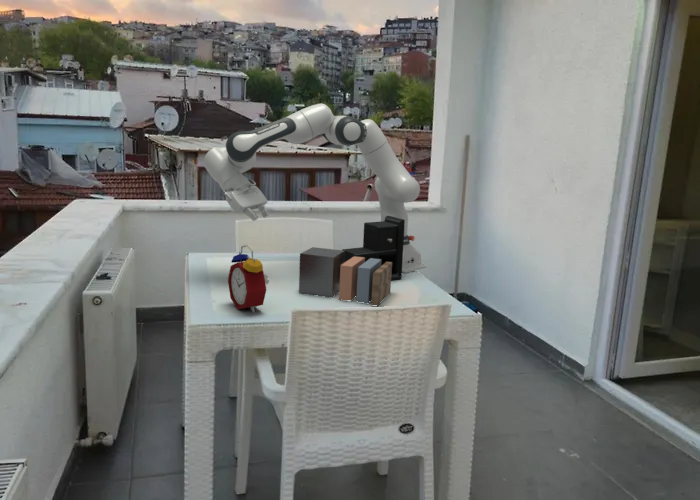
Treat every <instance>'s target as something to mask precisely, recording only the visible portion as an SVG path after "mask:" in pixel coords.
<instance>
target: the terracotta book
mask: <svg viewBox="0 0 700 500" xmlns="http://www.w3.org/2000/svg"><path fill="white" fill-rule="evenodd" d="M363 263H365V258H364V257H355V256H354V257H352V258H351V259H349V260H348V261H346V262H345V263H343V264H342V265H341V266H340V290H339V293H338V300H339V299H342V300H352V299H353V298H354V297H355V296H356V297H357V279H358V267H359V266H361V265H362V264H363ZM356 297H355V298H356ZM355 298H354V299H355ZM354 299H353V300H354ZM353 300H352V301H353Z"/></svg>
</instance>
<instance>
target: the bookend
mask: <svg viewBox="0 0 700 500" xmlns="http://www.w3.org/2000/svg"><path fill="white" fill-rule="evenodd" d="M404 223H405V220H404V219H400V218H396V217H392V216H386V217H385V221H381V220H380V221H370V222H368V221H367V222H364V223H363V241H362V242H363V245H362V247H360V246H359V247H352V248H351V247H350V248H342V249H341V250H343V251H345V259H344V263H345V262H346V261H348V260H349V259H351V258H352V257H354V256H355V257H364V258H365V262H366V261H367V260H369V259H370V258H373V259H381V266H382V265H383V264H384V263H386V262H392V273H391V281H398V280H402V277H403V276H402V275H403V272H402V261H403V244H404V227H405V225H404Z"/></svg>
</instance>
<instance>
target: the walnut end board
mask: <svg viewBox="0 0 700 500" xmlns="http://www.w3.org/2000/svg"><path fill="white" fill-rule="evenodd" d="M391 273H392V262H386V263H384V264H383V265H382V266H381V267H380V268H378V269H377V270H376V271H375V272H374V273H373V283H372V301H371V302H370V303H371V305H378V304H379V303H380V302H381V301H382V300H383V299H384V298H385V297H386V296H387V295H388V294H389V295H390V294H391V287H392V280H391ZM389 295H388V296H389ZM388 296H387V297H388ZM387 297H386V298H387ZM386 298H385V299H386ZM385 299H384V300H385ZM384 300H383V301H384ZM383 301H382V302H383ZM382 302H381V303H382ZM381 303H380V304H381ZM380 304H379V305H380ZM379 305H378V306H379Z"/></svg>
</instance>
